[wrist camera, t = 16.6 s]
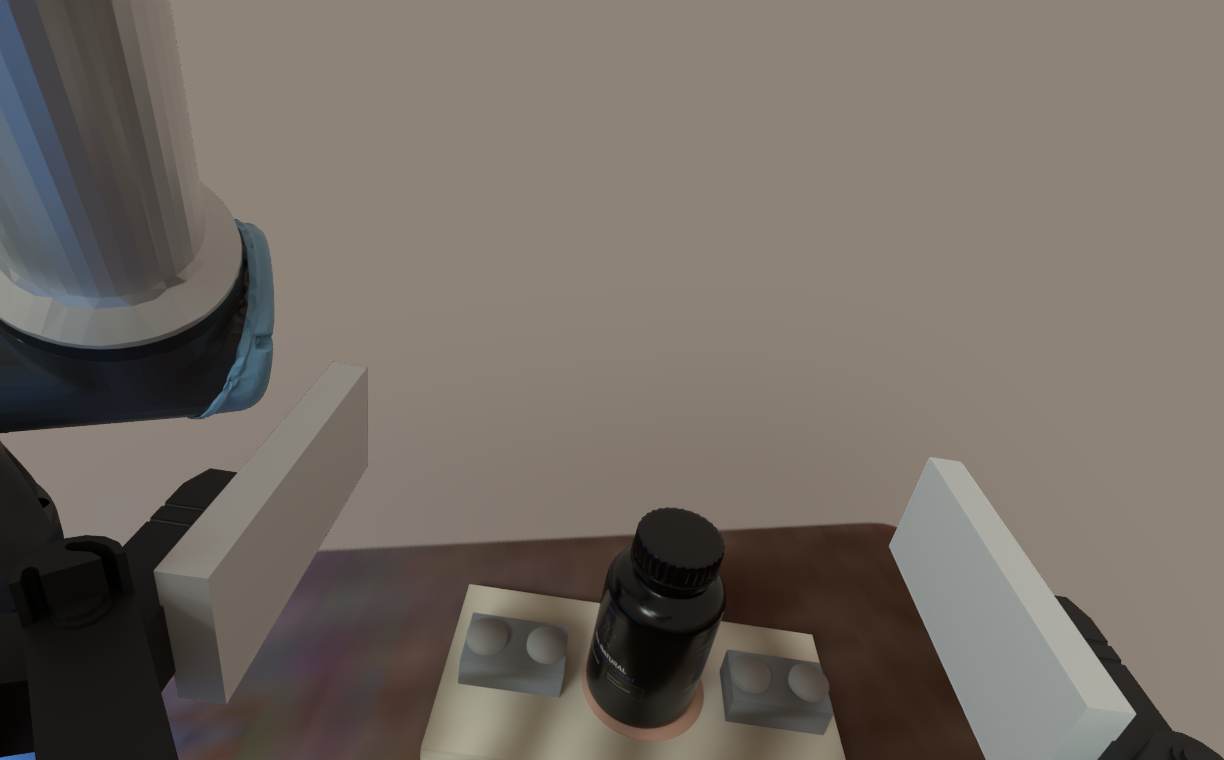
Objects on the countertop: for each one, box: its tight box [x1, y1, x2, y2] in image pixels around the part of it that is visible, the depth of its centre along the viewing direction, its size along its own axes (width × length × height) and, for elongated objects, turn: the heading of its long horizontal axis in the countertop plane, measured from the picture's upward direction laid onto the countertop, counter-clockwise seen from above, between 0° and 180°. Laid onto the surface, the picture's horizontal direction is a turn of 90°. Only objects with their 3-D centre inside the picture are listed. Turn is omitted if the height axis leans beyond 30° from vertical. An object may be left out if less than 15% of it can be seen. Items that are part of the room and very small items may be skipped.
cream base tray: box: [420, 584, 846, 760], centre depth 43 cm, size 24×12×3 cm, turn 88°
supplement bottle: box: [586, 508, 726, 729], centre depth 40 cm, size 7×7×12 cm
